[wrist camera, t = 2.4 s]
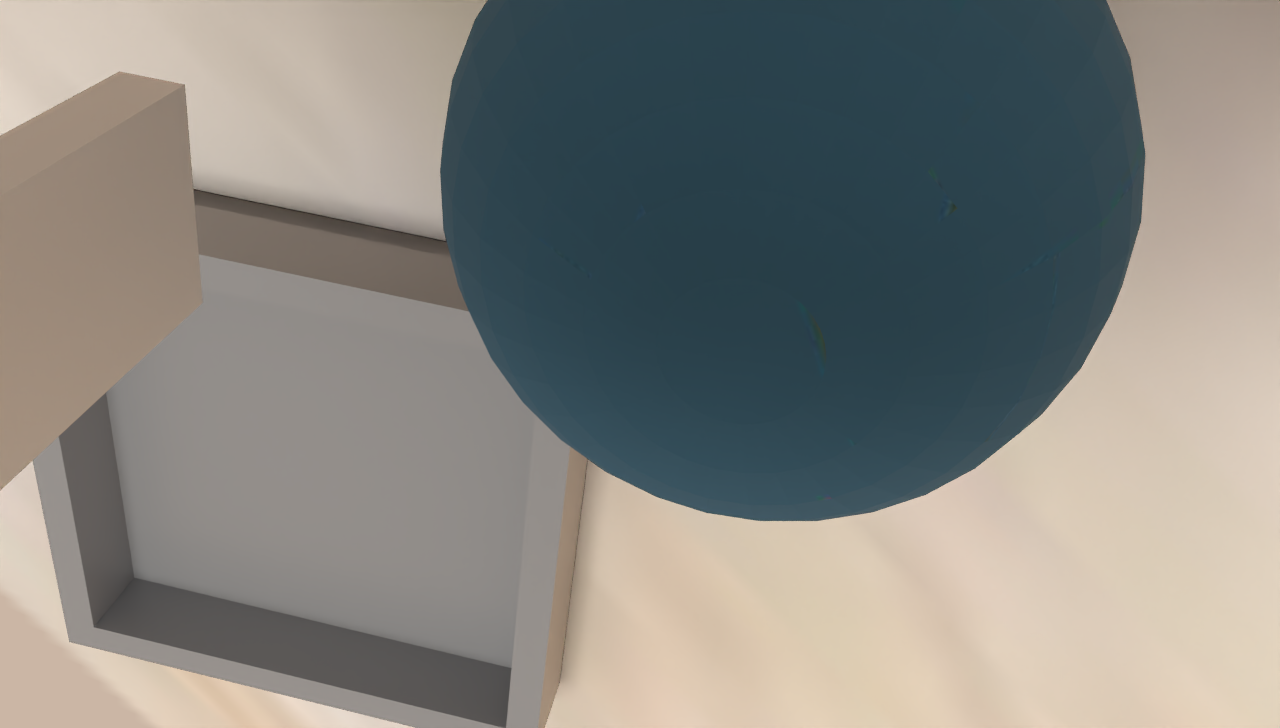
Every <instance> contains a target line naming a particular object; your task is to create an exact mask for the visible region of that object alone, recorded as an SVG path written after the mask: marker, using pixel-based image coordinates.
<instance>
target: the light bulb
mask: <svg viewBox="0 0 1280 728" xmlns="http://www.w3.org/2000/svg"><path fill="white" fill-rule="evenodd" d="M1144 166H1145V148H1144V141H1143V134H1142V127H1141V121H1140V115H1139V109H1138V103H1137V97H1136V91H1135V84H1134V78H1133V72H1132V66H1131V60H1130V57H1129V54H1128V52H1127V49H1126V47H1125V44H1124V42H1123V40H1122V37H1121V35H1120V32H1119V30H1118V27H1117V25H1116V23H1115V20H1114V18H1113V15H1112V13H1111V11H1110V8H1109V6H1108V3H1107V1H1106V0H488V1H487V2H486V4H485V5H484V7H483V8H482V10H481V11H480V13H479V14H478V16H477V18H476V19H475V21H474V24H473V27H472V29H471V32H470V35H469V37H468V40H467V43H466V45H465V48H464V51H463V53H462V56H461V58H460V61H459V64H458V66H457V69H456V72H455V74H454V77H453V80H452V86H451V92H450V99H449V105H448V112H447V118H446V125H445V132H444V138H443V147H442V158H441V168H440V174H441V192H442V210H443V228H444V233H445V237H446V241H447V245H448V249H449V252H450V256H451V260H452V264H453V268H454V272H455V275H456V279H457V283H458V287H459V289H460V291H461V294H462V296H463V299H464V301H465V303H466V306H467V308H468V311H469V313H470V315H471V317H472V319H473V321H474V323H475V325H476V327H477V330H478V332H479V334H480V336H481V338H482V340H483V342H484V344H485V346H486V349H487V351H488V353H489V355H490V357H491V359H492V360H493V362H494V363H495V365H496V366H497V367H498V369H499V370H500V371H501V373H502V374H503V376H504V377H505V378H506V380H507V381H508V383H509V384H510V385H511V387H512V388H513V390H514V391H515V392H516V394H517V395H518V397H519V398H520V399H521V401H522V402H523V403H524V404H525V405H526V406H527V407H528V408H529V409H530V410H531V411H532V412H533V413H534V414H535V415H536V416H537V417H538V418H539V419H540V420H541V421H542V422H543V423H544V424H545V425H546V426H547V427H548V428H549V429H550V430H551V431H552V432H553V433H554V434H555V435H556V436H557V437H558V438H559V439H560V440H561V441H563V442H564V443H566V444H567V445H569V446H570V447H571V448H573V449H574V450H576V451H577V452H578V453H580V454H581V455H583V456H584V457H586V458H587V459H588V460H590V461H591V462H593V463H594V464H595V465H597V466H598V467H600V468H601V469H603V470H604V471H605V472H607V473H609V474H611V475H613V476H615V477H617V478H620V479H622V480H624V481H626V482H628V483H630V484H632V485H634V486H636V487H638V488H640V489H642V490H644V491H646V492H648V493H650V494H652V495H654V496H656V497H659V498H662V499H665V500H668V501H671V502H674V503H677V504H681V505H684V506H687V507H690V508H693V509H696V510H700V511H703V512H706V513H712V514H718V515H725V516H731V517H738V518H744V519H751V520H758V521H820V520H826V519H832V518H839V517H845V516H851V515H858V514H864V513H871V512H875V511H878V510H881V509H884V508H887V507H890V506H893V505H896V504H899V503H902V502H905V501H908V500H911V499H914V498H917V497H920V496H923V495H926V494H928V493H930V492H931V491H933V490H935V489H937V488H939V487H941V486H943V485H945V484H946V483H948V482H950V481H952V480H954V479H956V478H958V477H960V476H961V475H963V474H965V473H967V472H969V471H971V470H973V469H975V468H976V467H977V466H979V465H980V464H981V463H982V462H984V461H985V460H986V459H987V458H989V457H990V456H991V455H992V454H994V453H995V452H996V451H997V450H999V449H1000V448H1001V447H1002V446H1004V445H1005V444H1006V443H1007V442H1009V441H1010V440H1011V439H1012V438H1014V437H1015V436H1016V435H1017V434H1019V433H1020V432H1021V431H1022V430H1024V429H1025V428H1026V427H1027V426H1028V425H1030V424H1031V423H1032V422H1033V421H1034V420H1035V419H1037V418H1038V417H1039V416H1040V415H1041V414H1042V413H1043V412H1044V411H1045V410H1046V409H1047V407H1048V406H1049V405H1050V404H1051V403H1052V402H1053V400H1054V399H1055V398H1056V397H1057V396H1058V394H1059V393H1060V392H1061V391H1062V390H1063V389H1064V387H1065V386H1066V385H1067V384H1068V383H1069V382H1070V380H1071V379H1072V378H1073V377H1074V376H1075V374H1076V373H1077V372H1078V371H1079V370H1080V369H1081V367H1082V365H1083V364H1084V362H1085V360H1086V358H1087V356H1088V354H1089V353H1090V351H1091V349H1092V347H1093V345H1094V343H1095V342H1096V340H1097V338H1098V336H1099V334H1100V332H1101V331H1102V329H1103V327H1104V325H1105V323H1106V321H1107V320H1108V318H1109V316H1110V314H1111V312H1112V310H1113V307H1114V304H1115V302H1116V299H1117V297H1118V294H1119V292H1120V289H1121V287H1122V284H1123V281H1124V278H1125V274H1126V271H1127V267H1128V264H1129V261H1130V257H1131V254H1132V250H1133V247H1134V244H1135V240H1136V237H1137V233H1138V230H1139V227H1140V223H1141V214H1142V198H1143V182H1144Z"/></svg>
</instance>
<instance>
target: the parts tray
mask: <svg viewBox="0 0 1280 728" xmlns="http://www.w3.org/2000/svg"><path fill="white" fill-rule="evenodd" d="M193 191H194V203H195V215H196V227H197V240H198V252H199V264H200V276H201V288H202V300H203V303H202V304H201V305H200V306H199V307H197V308H196V309H195V310H194V311H193V312H192V313H191V314H190V315H189V316H188V317H187V318H186V319H184V320H183V321H182V322H181V323H180V324H179V325H178V326H177V327H176V328H175V329H174V330H173V331H172V332H170V333H169V334H168V335H167V336H166V337H165V338H164V339H163V340H162V341H161V342H160V343H159V344H158V345H156V346H155V347H154V348H153V349H152V350H151V351H150V352H149V353H148V354H147V355H146V356H145V357H144V358H142V359H141V360H140V361H139V362H138V363H137V364H136V365H135V366H134V367H133V368H132V369H131V370H129V371H128V372H127V373H126V374H125V375H124V376H123V377H122V378H121V379H120V380H119V381H118V382H117V383H115V384H114V385H113V386H112V387H111V388H110V389H109V390H108V391H107V392H106V393H105V394H104V395H103V396H101V397H100V398H99V399H98V400H97V401H96V402H95V403H94V404H93V405H92V406H91V407H90V408H89V409H87V410H86V411H85V412H84V413H83V414H82V415H81V416H80V417H79V418H78V419H77V420H76V421H75V422H73V423H72V424H71V425H70V426H69V427H68V428H67V429H66V430H65V431H64V432H63V433H62V434H60V435H59V436H58V437H57V438H56V439H55V440H54V441H53V442H52V443H51V444H50V445H49V446H48V447H46V448H45V449H44V450H43V451H42V452H41V453H40V454H39V455H38V456H37V457H36V458H35V459H34V460H33V465H34V469H35V474H36V479H37V484H38V489H39V494H40V499H41V504H42V509H43V514H44V519H45V524H46V529H47V534H48V539H49V544H50V549H51V553H52V558H53V563H54V568H55V573H56V578H57V583H58V588H59V593H60V598H61V603H62V608H63V613H64V618H65V623H66V628H67V633H68V637H69V642H72V643H76V644H80V645H84V646H88V647H92V648H96V649H100V650H104V651H108V652H112V653H116V654H121V655H125V656H129V657H133V658H137V659H141V660H145V661H149V662H153V663H157V664H161V665H165V666H169V667H173V668H177V669H181V670H185V671H189V672H193V673H197V674H201V675H205V676H209V677H213V678H217V679H222V680H226V681H230V682H234V683H238V684H242V685H246V686H250V687H254V688H258V689H262V690H266V691H270V692H274V693H278V694H282V695H286V696H290V697H294V698H298V699H302V700H306V701H310V702H314V703H319V704H323V705H327V706H331V707H335V708H339V709H343V710H347V711H351V712H355V713H359V714H363V715H367V716H371V717H375V718H379V719H383V720H387V721H391V722H395V723H399V724H403V725H407V726H411V727H415V728H545V725H546V722H547V719H548V716H549V713H550V710H551V707H552V704H553V701H554V698H555V695H556V692H557V689H558V686H559V683H560V675H561V667H562V659H563V651H564V643H565V635H566V627H567V619H568V611H569V603H570V595H571V587H572V579H573V571H574V563H575V555H576V547H577V539H578V531H579V523H580V515H581V507H582V499H583V491H584V483H585V475H586V467H587V458H586V457H584V456H583V455H581V454H580V453H578V452H577V451H576V450H574V449H573V448H571V447H570V446H569V445H567V444H566V443H564V442H563V441H561V440H560V439H559V438H558V437H557V436H556V435H555V434H554V433H553V432H552V431H551V430H550V429H549V428H548V427H547V426H546V425H545V424H544V423H543V422H542V421H541V420H540V419H539V418H538V417H537V416H536V415H535V414H534V413H533V412H532V411H531V410H530V409H529V408H528V407H527V406H526V405H525V404H524V403H523V402H522V401H521V399H520V398H519V397H518V395H517V394H516V392H515V391H514V390H513V388H512V387H511V385H510V384H509V383H508V381H507V380H506V378H505V377H504V376H503V374H502V373H501V371H500V370H499V369H498V367H497V366H496V365H495V363H494V362H493V360H492V359H491V357H490V355H489V353H488V351H487V349H486V346H485V344H484V342H483V340H482V338H481V336H480V334H479V332H478V330H477V327H476V325H475V323H474V321H473V319H472V317H471V315H470V313H469V311H468V308H467V306H466V303H465V301H464V299H463V296H462V294H461V291H460V289H459V287H458V283H457V279H456V275H455V272H454V268H453V264H452V260H451V256H450V252H449V249H448V245H447V242H444V241H439V240H434V239H429V238H424V237H420V236H415V235H410V234H405V233H400V232H395V231H390V230H386V229H381V228H376V227H371V226H366V225H361V224H356V223H352V222H347V221H342V220H337V219H332V218H327V217H323V216H318V215H313V214H308V213H303V212H298V211H293V210H289V209H284V208H279V207H274V206H269V205H264V204H259V203H255V202H250V201H245V200H240V199H235V198H230V197H225V196H221V195H216V194H211V193H206V192H201V191H196V190H193Z"/></svg>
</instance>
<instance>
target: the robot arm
mask: <svg viewBox="0 0 1280 728" xmlns="http://www.w3.org/2000/svg"><path fill="white" fill-rule="evenodd" d="M202 303H203V300H202V288H201V276H200V264H199V252H198V240H197V227H196V215H195V203H194V191H193V179H192V167H191V155H190V143H189V131H188V118H187V106H186V94H185V85H184V84H179V83H174V82H169V81H164V80H159V79H154V78H149V77H144V76H139V75H134V74H129V73H124V72H118V73H116V74H114V75H112V76H110V77H109V78H107V79H105V80H103V81H101V82H99V83H97V84H96V85H94V86H92V87H90V88H88V89H86V90H84V91H83V92H81V93H79V94H77V95H75V96H73V97H71V98H70V99H68V100H66V101H64V102H62V103H60V104H58V105H57V106H55V107H53V108H51V109H49V110H47V111H45V112H44V113H42V114H40V115H38V116H36V117H34V118H32V119H31V120H29V121H27V122H25V123H23V124H21V125H19V126H17V127H16V128H14V129H12V130H10V131H8V132H6V133H4V134H3V135H1V136H0V490H1V489H2V488H3V487H4V486H5V485H7V484H8V483H9V482H10V481H11V480H12V479H13V478H14V477H15V476H16V475H17V474H18V473H20V472H21V471H22V470H23V469H24V468H25V467H26V466H27V465H28V464H29V463H30V462H31V461H32V460H34V459H35V458H36V457H37V456H38V455H39V454H40V453H41V452H42V451H43V450H44V449H45V448H46V447H48V446H49V445H50V444H51V443H52V442H53V441H54V440H55V439H56V438H57V437H58V436H59V435H60V434H62V433H63V432H64V431H65V430H66V429H67V428H68V427H69V426H70V425H71V424H72V423H73V422H75V421H76V420H77V419H78V418H79V417H80V416H81V415H82V414H83V413H84V412H85V411H86V410H87V409H89V408H90V407H91V406H92V405H93V404H94V403H95V402H96V401H97V400H98V399H99V398H100V397H101V396H103V395H104V394H105V393H106V392H107V391H108V390H109V389H110V388H111V387H112V386H113V385H114V384H115V383H117V382H118V381H119V380H120V379H121V378H122V377H123V376H124V375H125V374H126V373H127V372H128V371H129V370H131V369H132V368H133V367H134V366H135V365H136V364H137V363H138V362H139V361H140V360H141V359H142V358H144V357H145V356H146V355H147V354H148V353H149V352H150V351H151V350H152V349H153V348H154V347H155V346H156V345H158V344H159V343H160V342H161V341H162V340H163V339H164V338H165V337H166V336H167V335H168V334H169V333H170V332H172V331H173V330H174V329H175V328H176V327H177V326H178V325H179V324H180V323H181V322H182V321H183V320H184V319H186V318H187V317H188V316H189V315H190V314H191V313H192V312H193V311H194V310H195V309H196V308H197V307H199V306H200V305H201V304H202Z"/></svg>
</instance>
